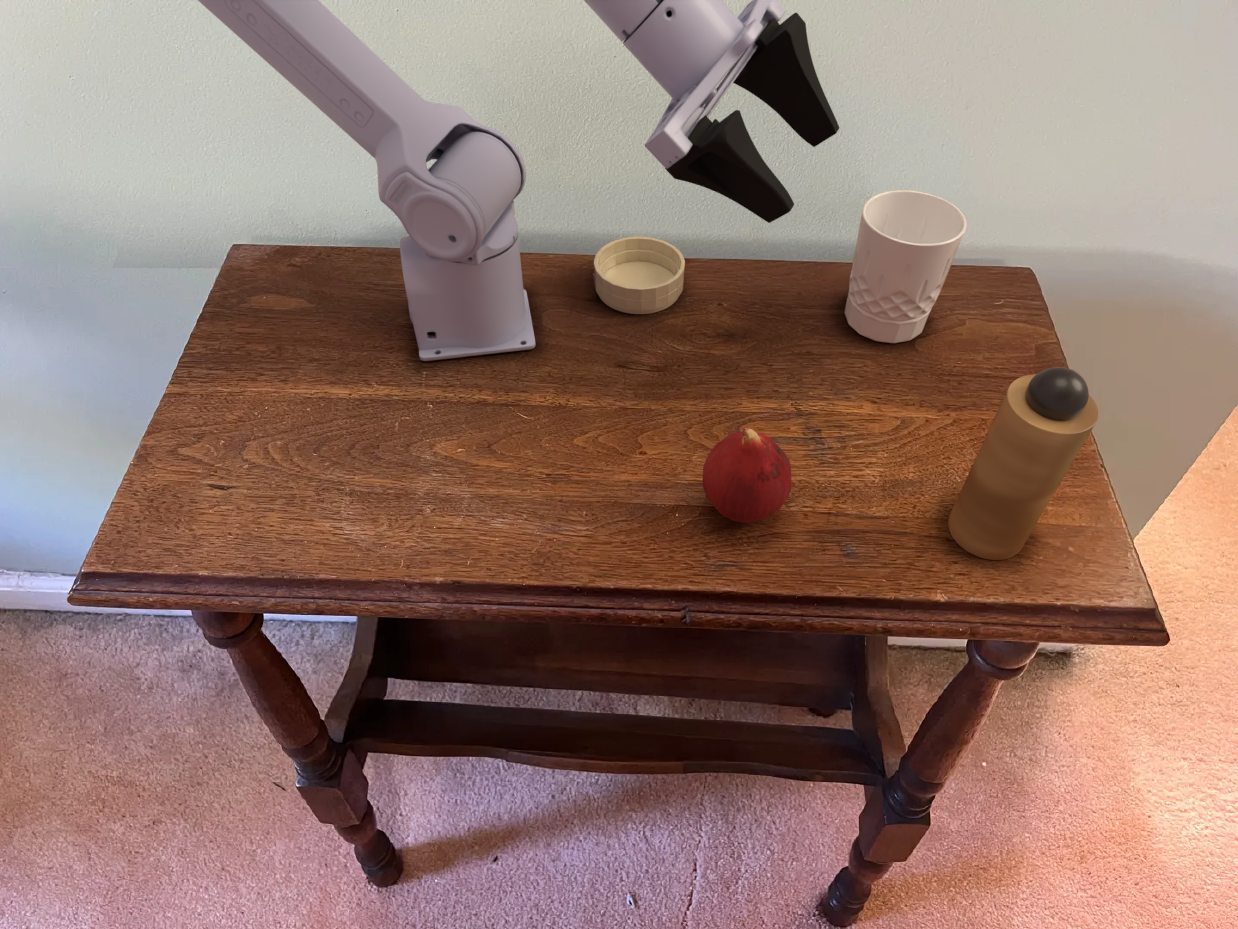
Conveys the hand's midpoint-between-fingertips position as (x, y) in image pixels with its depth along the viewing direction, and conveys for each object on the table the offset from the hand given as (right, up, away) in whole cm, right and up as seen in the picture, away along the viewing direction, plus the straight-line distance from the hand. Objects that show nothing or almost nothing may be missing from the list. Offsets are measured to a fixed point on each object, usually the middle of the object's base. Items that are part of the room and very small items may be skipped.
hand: (804, 174), depth 54 cm
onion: (-3, -22, +5) cm, 23 cm away
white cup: (+11, -6, +19) cm, 23 cm away
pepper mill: (+13, -23, +4) cm, 27 cm away
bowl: (-10, -3, +22) cm, 24 cm away
